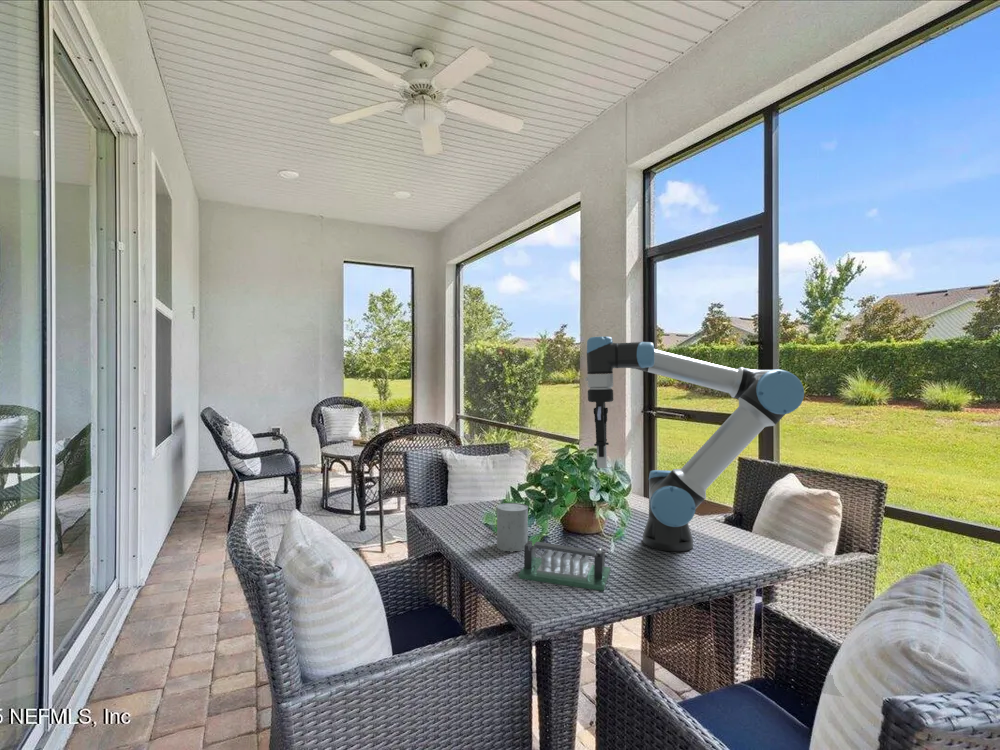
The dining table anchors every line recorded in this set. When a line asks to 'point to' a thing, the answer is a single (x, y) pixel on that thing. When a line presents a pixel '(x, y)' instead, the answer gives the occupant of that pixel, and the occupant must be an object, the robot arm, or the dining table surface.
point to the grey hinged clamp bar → (568, 549)
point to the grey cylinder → (512, 526)
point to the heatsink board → (565, 569)
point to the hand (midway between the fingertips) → (602, 467)
